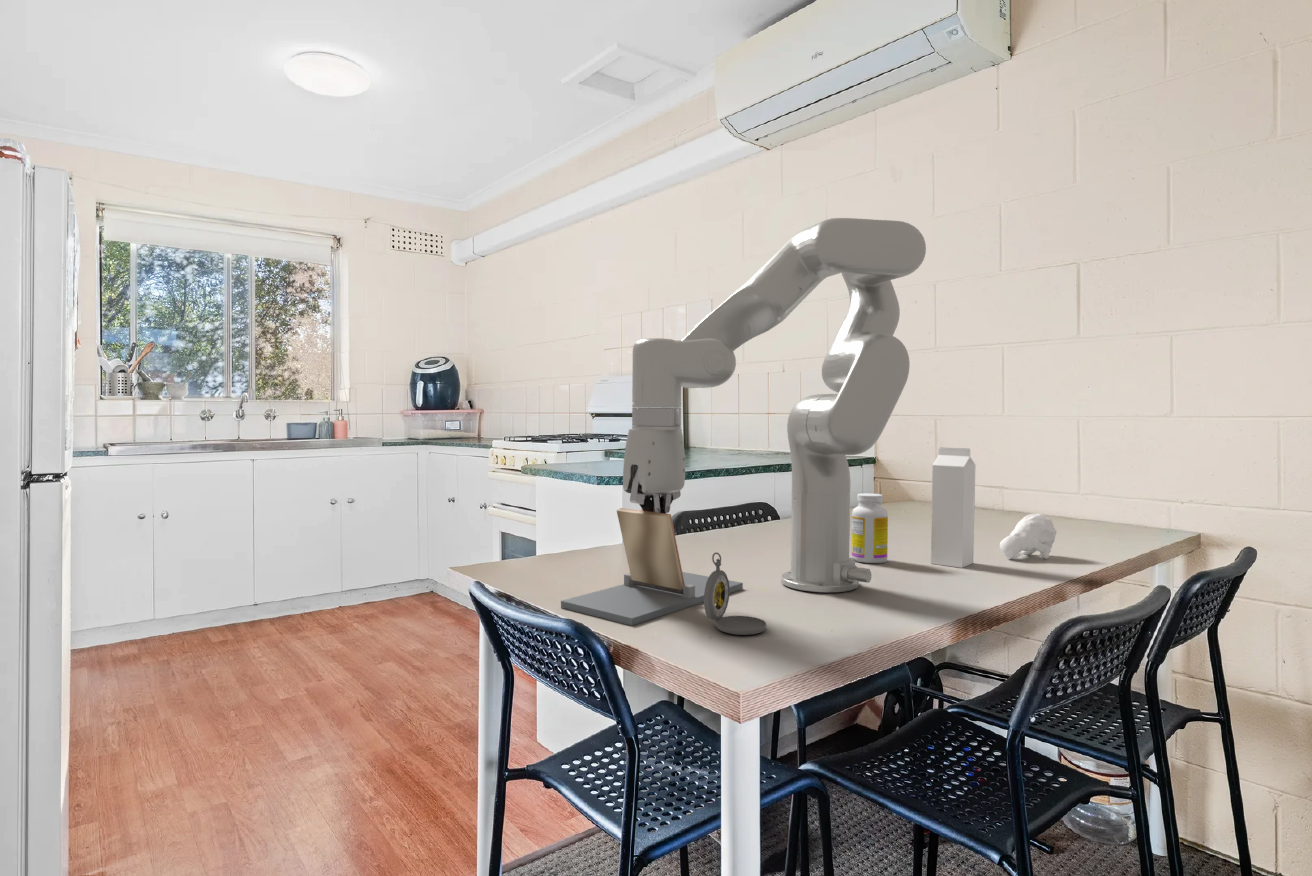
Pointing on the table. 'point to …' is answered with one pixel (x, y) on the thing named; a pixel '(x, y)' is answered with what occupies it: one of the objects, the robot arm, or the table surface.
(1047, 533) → the white animal figurine
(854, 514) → the supplement bottle
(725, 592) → the pocket watch
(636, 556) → the tile
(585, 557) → the table surface
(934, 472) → the milk
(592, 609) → the board
